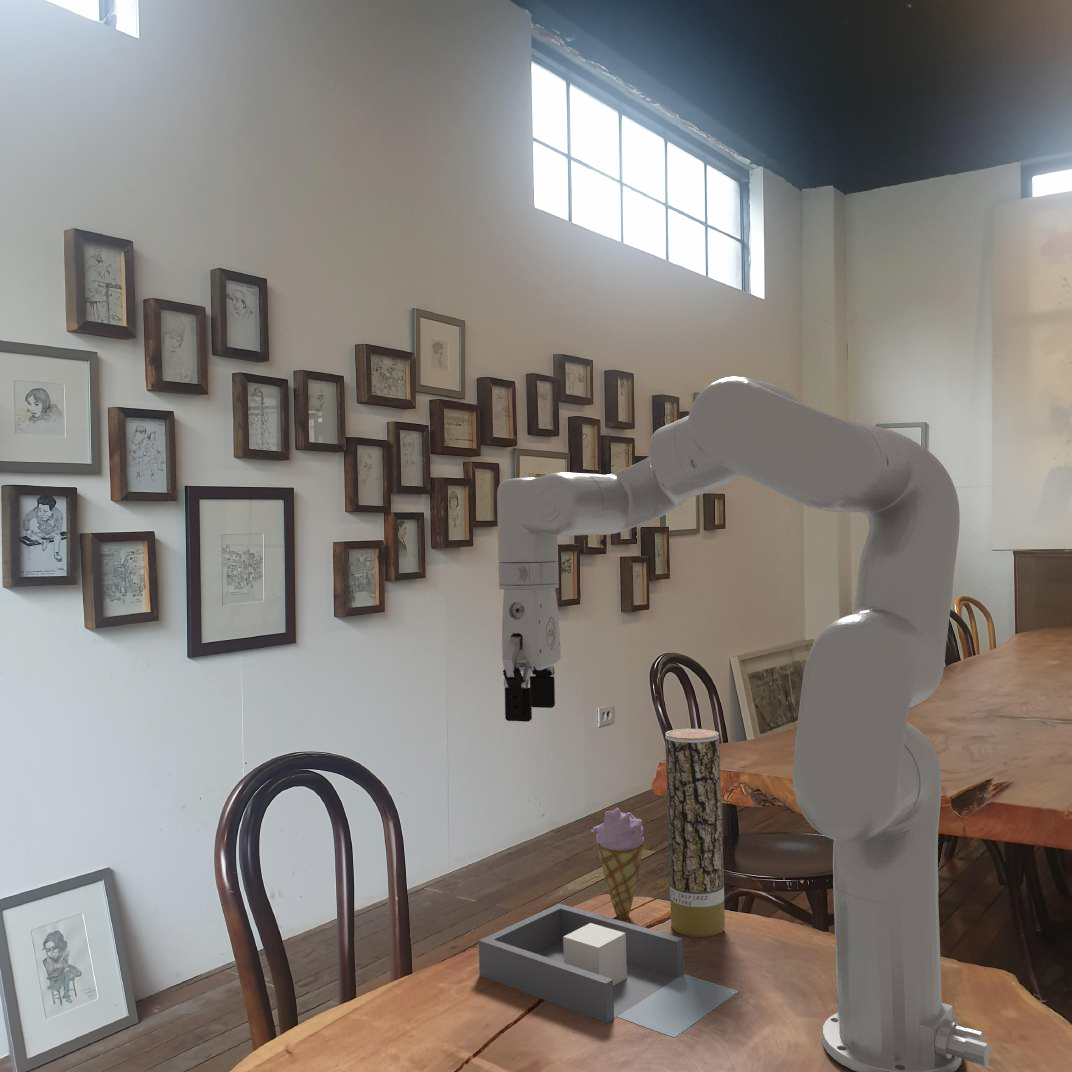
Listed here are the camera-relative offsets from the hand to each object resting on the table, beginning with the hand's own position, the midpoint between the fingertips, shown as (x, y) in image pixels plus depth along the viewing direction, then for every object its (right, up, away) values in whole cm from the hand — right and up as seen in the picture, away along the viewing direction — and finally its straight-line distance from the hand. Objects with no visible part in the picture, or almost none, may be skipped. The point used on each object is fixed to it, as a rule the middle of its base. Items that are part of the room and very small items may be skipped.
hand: (531, 713), depth 121 cm
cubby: (+8, -28, -13) cm, 32 cm away
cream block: (+7, -28, -12) cm, 31 cm away
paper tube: (+21, -28, +2) cm, 35 cm away
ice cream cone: (+12, -29, +6) cm, 32 cm away
